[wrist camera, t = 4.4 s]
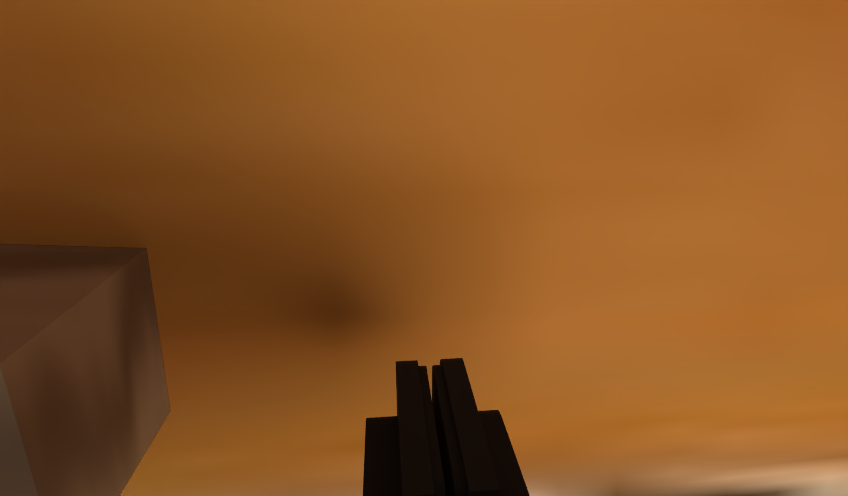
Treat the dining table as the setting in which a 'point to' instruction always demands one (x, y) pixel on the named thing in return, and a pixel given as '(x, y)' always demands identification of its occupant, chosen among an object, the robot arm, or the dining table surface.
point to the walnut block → (77, 369)
